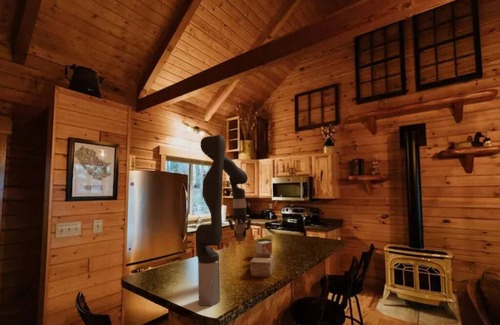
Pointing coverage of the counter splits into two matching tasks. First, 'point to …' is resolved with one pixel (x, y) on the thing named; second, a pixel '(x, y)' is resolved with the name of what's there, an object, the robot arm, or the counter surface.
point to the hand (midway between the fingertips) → (240, 237)
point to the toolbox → (262, 269)
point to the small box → (264, 247)
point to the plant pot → (263, 240)
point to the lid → (262, 258)
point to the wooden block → (239, 232)
